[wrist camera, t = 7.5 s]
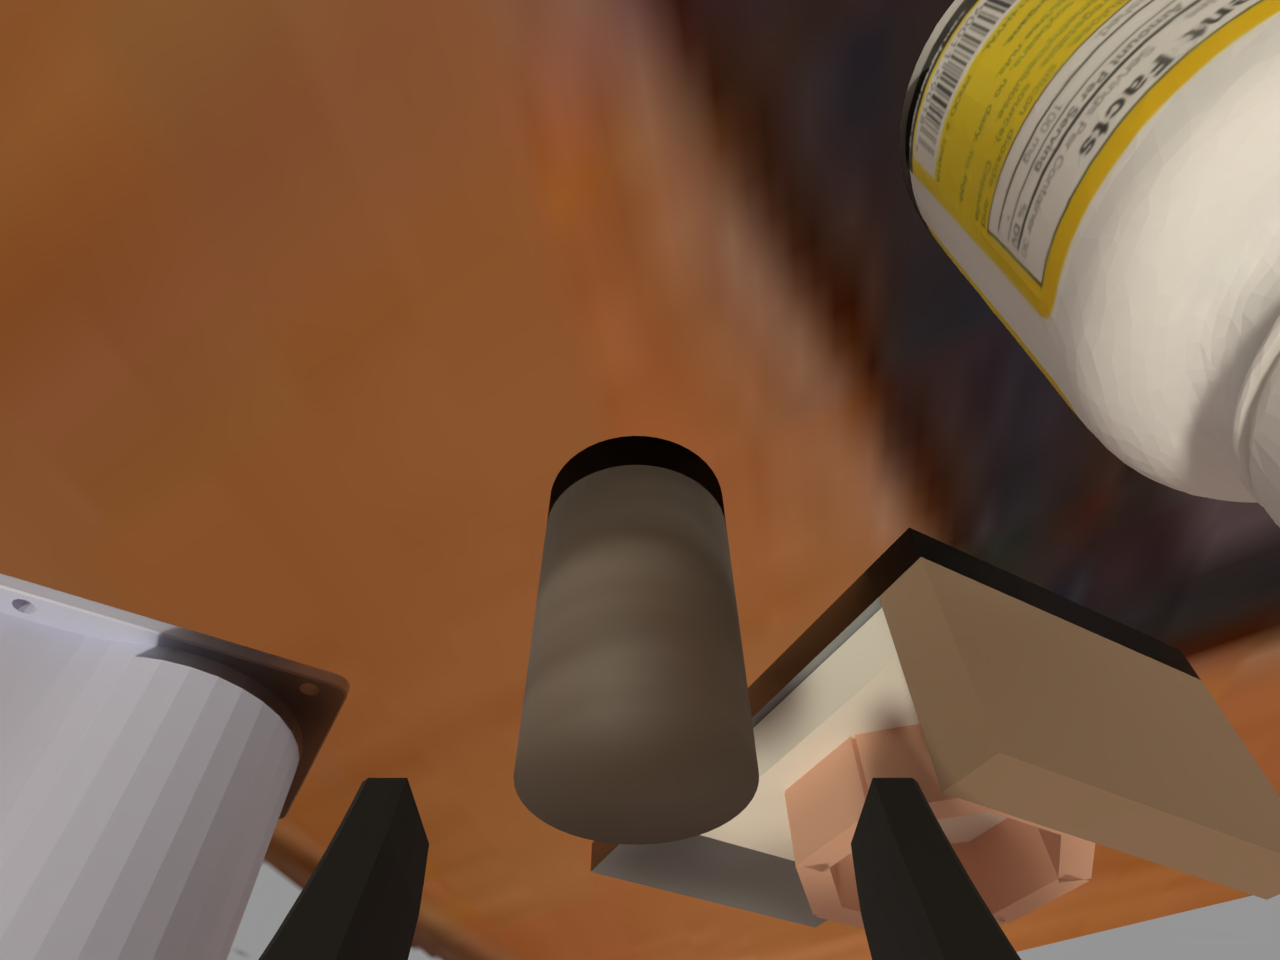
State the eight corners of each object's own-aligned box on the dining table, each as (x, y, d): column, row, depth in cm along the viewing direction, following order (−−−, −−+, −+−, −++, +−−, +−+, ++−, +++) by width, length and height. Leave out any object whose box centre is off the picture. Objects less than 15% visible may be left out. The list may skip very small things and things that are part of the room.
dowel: (522, 532, 19) (476, 810, 14) (597, 408, 17) (578, 680, 11) (668, 587, 20) (680, 863, 15) (756, 478, 18) (808, 755, 13)
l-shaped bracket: (591, 843, 28) (582, 1042, 24) (909, 527, 19) (999, 752, 14) (810, 900, 31) (842, 1088, 26) (1180, 650, 22) (1330, 871, 17)
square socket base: (692, 785, 24) (699, 906, 21) (885, 604, 19) (927, 731, 16) (924, 854, 27) (957, 969, 24) (1145, 710, 22) (1219, 835, 19)
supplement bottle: (1237, 186, 14) (1963, 600, 6) (926, 300, 15) (1216, 756, 8) (1249, -181, 11) (2706, -245, 3) (858, 1, 12) (1231, 264, 5)
